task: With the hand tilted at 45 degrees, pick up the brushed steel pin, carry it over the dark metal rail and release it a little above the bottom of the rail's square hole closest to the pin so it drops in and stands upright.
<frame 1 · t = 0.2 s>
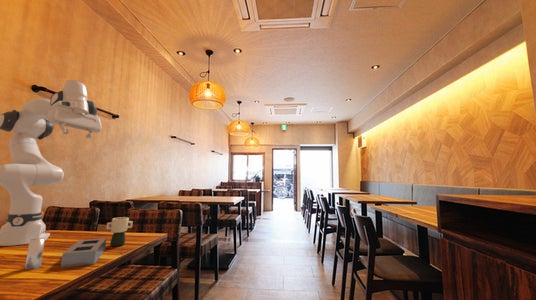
hand: (77, 135, 103), 52 cm above the table, tool tilted 20°, fingers open, 8 cm apart
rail: (85, 257, 93), on the table
steel pin: (32, 267, 81), on the table
character mug: (117, 245, 111), on the table
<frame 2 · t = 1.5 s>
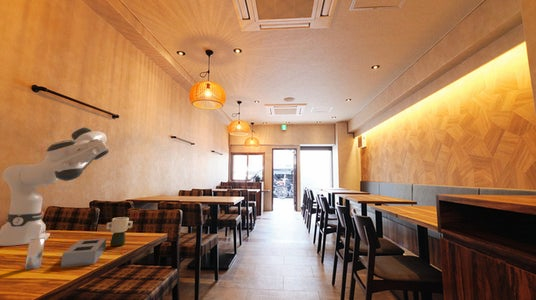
hand: (80, 159, 93), 41 cm above the table, tool tilted 75°, fingers open, 8 cm apart
nothing on the table moved.
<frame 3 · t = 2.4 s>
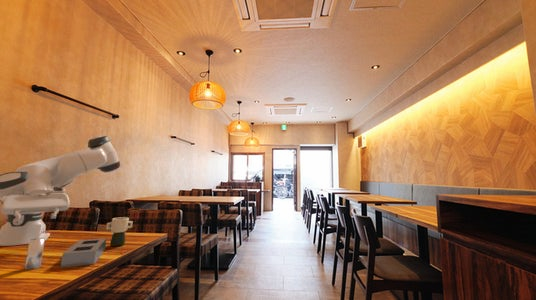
hand: (37, 219, 91), 16 cm above the table, tool tilted 45°, fingers open, 8 cm apart
nothing on the table moved.
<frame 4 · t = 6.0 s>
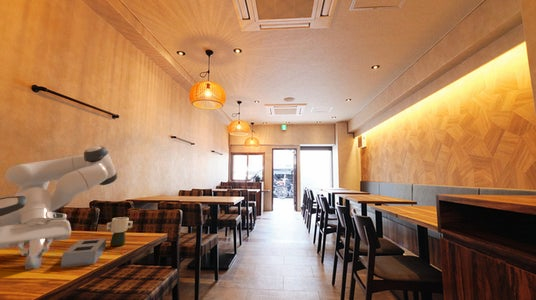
hand: (35, 252, 82), 5 cm above the table, tool tilted 45°, fingers closed on steel pin, 4 cm apart
steel pin: (32, 267, 81), on the table, touching gripper
everything else where it was.
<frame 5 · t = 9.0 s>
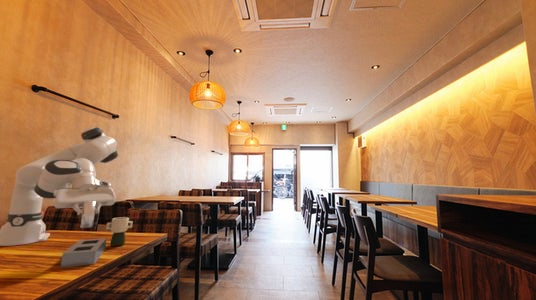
hand: (88, 213, 91), 19 cm above the table, tool tilted 45°, fingers closed on steel pin, 4 cm apart
steel pin: (86, 226, 90), point 13 cm above the table, touching gripper
everything else where it was.
when the fingers open (7 cm above the table, at t = 12.5 s): steel pin drops 2 cm, resting in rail.
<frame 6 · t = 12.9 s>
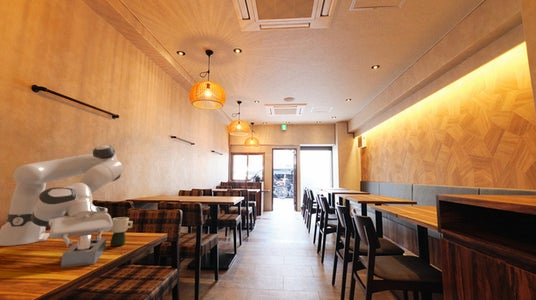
hand: (84, 242, 89), 7 cm above the table, tool tilted 45°, fingers open, 8 cm apart
steel pin: (81, 261, 88), resting in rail
everything else where it was.
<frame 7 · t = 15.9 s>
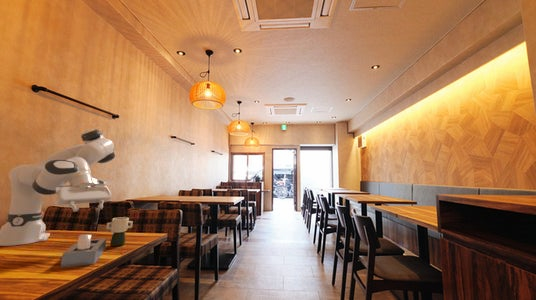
hand: (89, 209, 101), 19 cm above the table, tool tilted 40°, fingers open, 8 cm apart
nothing on the table moved.
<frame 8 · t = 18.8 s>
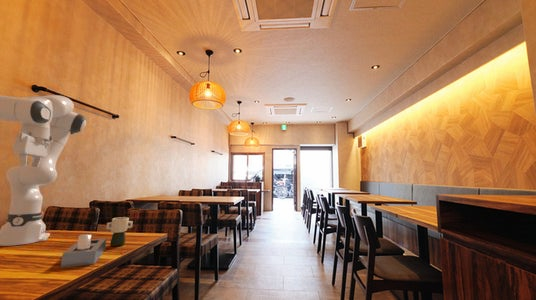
hand: (29, 166, 94), 37 cm above the table, tool pointing down, fingers open, 8 cm apart
nothing on the table moved.
at the end: steel pin 0.0 cm from the target spot on the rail, point 0.0 cm above the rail's base; steel pin tilted 0°; the gripper is holding nothing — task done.
